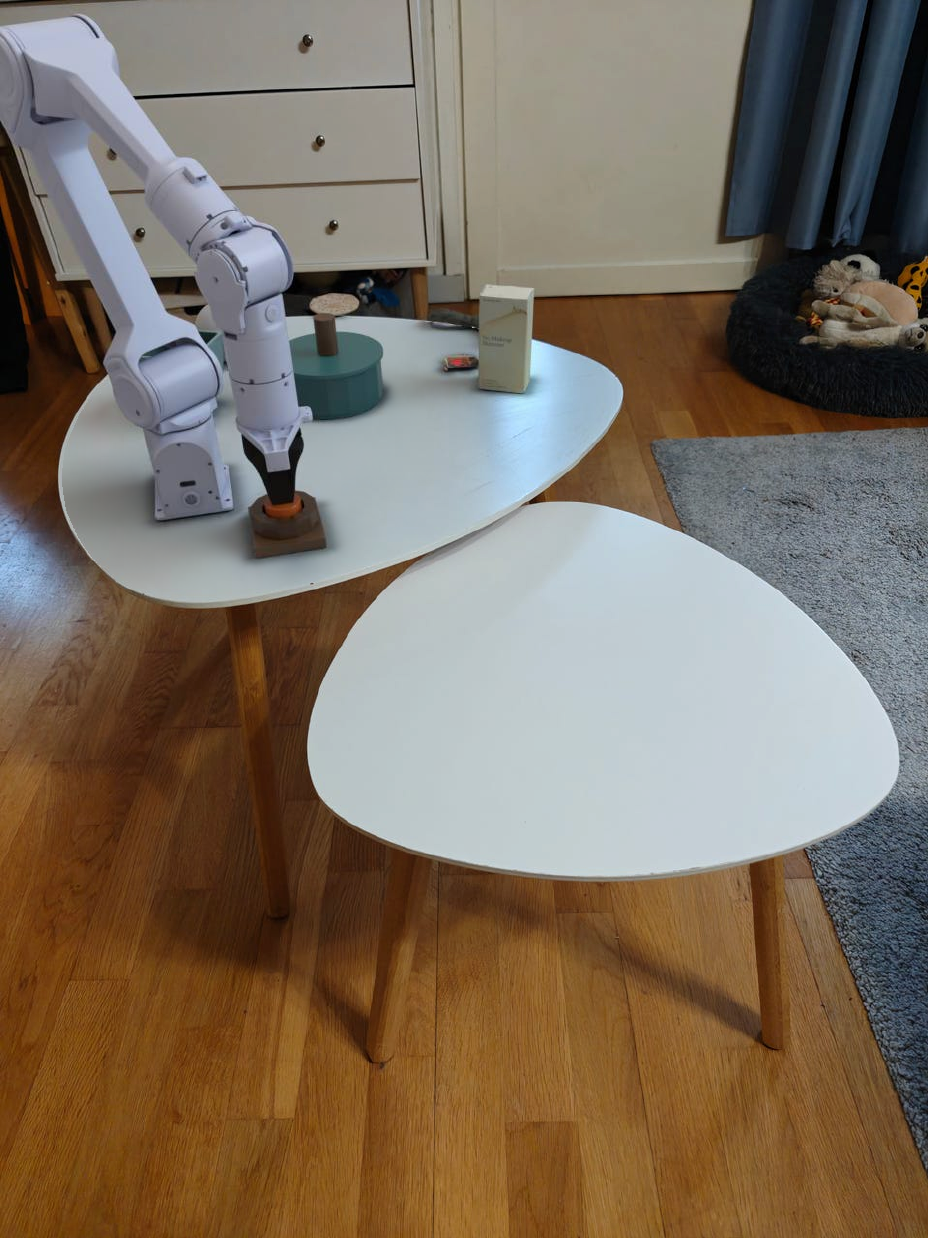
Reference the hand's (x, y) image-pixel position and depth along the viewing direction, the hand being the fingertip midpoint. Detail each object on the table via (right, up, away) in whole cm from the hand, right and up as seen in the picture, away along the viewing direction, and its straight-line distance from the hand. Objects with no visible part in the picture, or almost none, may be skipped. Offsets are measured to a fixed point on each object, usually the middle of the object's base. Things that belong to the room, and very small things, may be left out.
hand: (282, 500), depth 94 cm
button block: (0, -3, +2) cm, 4 cm away
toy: (+18, +33, +41) cm, 55 cm away
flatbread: (-2, +36, +51) cm, 63 cm away
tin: (+1, +17, +27) cm, 32 cm away
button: (0, -1, +1) cm, 2 cm away
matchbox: (+18, +23, +34) cm, 44 cm away
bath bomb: (-14, +24, +37) cm, 46 cm away
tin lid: (+1, +21, +23) cm, 31 cm away
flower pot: (-16, +14, +24) cm, 33 cm away
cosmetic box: (+23, +18, +29) cm, 41 cm away
